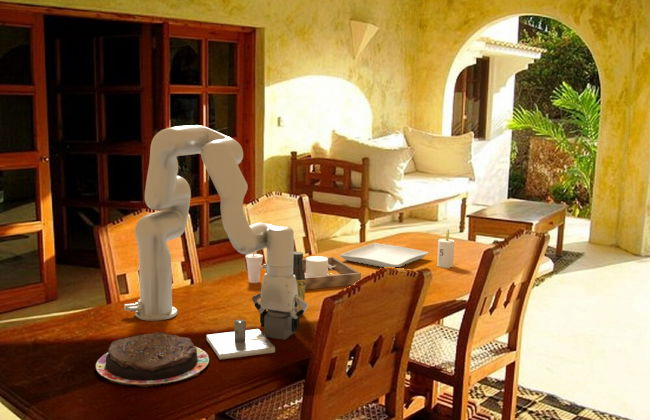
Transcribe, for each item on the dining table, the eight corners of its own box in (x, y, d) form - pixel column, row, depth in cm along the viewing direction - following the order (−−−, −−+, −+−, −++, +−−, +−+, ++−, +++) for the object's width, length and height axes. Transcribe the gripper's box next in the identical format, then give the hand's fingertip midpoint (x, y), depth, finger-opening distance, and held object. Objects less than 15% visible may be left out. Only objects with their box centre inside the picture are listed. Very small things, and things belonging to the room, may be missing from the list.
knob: (263, 336, 200) (263, 310, 199) (274, 329, 206) (274, 303, 205) (284, 340, 197) (285, 313, 196) (295, 332, 204) (295, 307, 202)
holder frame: (295, 290, 245) (295, 279, 245) (272, 271, 269) (272, 261, 268) (360, 284, 255) (360, 273, 254) (332, 266, 279) (332, 256, 278)
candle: (433, 266, 283) (435, 229, 280) (442, 263, 288) (444, 227, 285) (447, 269, 279) (449, 231, 276) (456, 266, 284) (457, 229, 281)
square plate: (373, 250, 309) (374, 241, 309) (429, 260, 294) (430, 251, 293) (338, 262, 288) (338, 252, 287) (396, 273, 272) (397, 263, 271)
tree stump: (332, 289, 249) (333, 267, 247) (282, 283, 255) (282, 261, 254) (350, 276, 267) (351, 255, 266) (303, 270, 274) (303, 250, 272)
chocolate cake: (227, 374, 175) (227, 348, 174) (114, 399, 160) (113, 371, 159) (184, 339, 198) (184, 316, 197) (82, 358, 183) (81, 334, 182)
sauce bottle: (289, 319, 215) (289, 256, 211) (280, 313, 220) (281, 251, 217) (308, 316, 218) (309, 254, 214) (299, 310, 223) (300, 249, 220)
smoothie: (242, 282, 253) (242, 244, 251) (250, 278, 259) (250, 241, 257) (257, 285, 251) (258, 246, 249) (266, 280, 257) (266, 243, 254)
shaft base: (219, 359, 183) (219, 333, 181) (206, 340, 196) (206, 315, 195) (274, 352, 188) (275, 327, 187) (258, 333, 202) (258, 310, 201)
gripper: (246, 269, 198) (246, 327, 201) (302, 277, 192) (301, 337, 195) (259, 263, 205) (258, 320, 208) (313, 270, 199) (312, 328, 202)
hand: (279, 328), depth 201 cm, fingers open, 9 cm apart
